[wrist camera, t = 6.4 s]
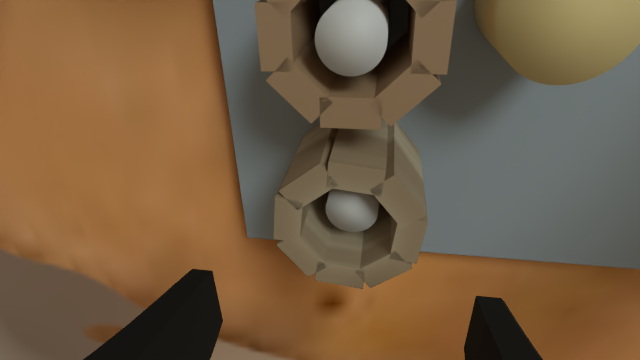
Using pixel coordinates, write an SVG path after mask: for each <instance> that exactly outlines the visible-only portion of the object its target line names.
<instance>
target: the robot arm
mask: <svg viewBox="0 0 640 360" xmlns="http://www.w3.org/2000/svg"><path fill="white" fill-rule="evenodd" d="M222 322H223V319H222V314H221V310H220V305H219V300H218V296H217V291H216V286H215V282H214V277H213V272H212V271H208V270H197V269H192V270H191V271H189V272H188V273H187V274H186V275H185V276H184V277H182V278H181V279H180V280H179V281H178V282H177V283H175V284H174V285H173V286H172V287H171V288H170V289H169V290H168V291H166V292H165V293H164V294H163V295H162V296H161V297H160V298H158V299H157V300H156V301H155V302H154V303H153V304H152V305H150V306H149V307H148V308H147V309H146V310H145V311H143V312H142V313H141V314H140V315H139V316H138V317H136V318H135V319H134V320H133V321H132V322H131V323H129V324H128V325H127V326H126V327H125V328H123V329H122V330H121V331H119V332H118V333H117V334H116V335H114V336H113V337H112V338H111V339H109V340H108V341H107V342H106V343H104V344H103V345H102V346H100V347H99V348H98V349H97V350H96V351H94V352H93V353H92V354H90V355H89V356H87V357H86V358H85V359H83V360H210V358H211V355H212V353H213V350H214V347H215V344H216V341H217V338H218V335H219V331H220V328H221V325H222ZM464 353H465V360H543V359H542V358H541V356H540V355H539V354H538V352H537V351H536V349H535V348H534V346H533V345H532V343H531V342H530V341H529V339H528V338H527V336H526V335H525V333H524V332H523V330H522V329H521V327H520V326H519V324H518V323H517V321H516V319H515V318H514V316H513V315H512V313H511V312H510V310H509V308H508V307H507V305H506V304H505V302H504V301H503V300H502V299H501V298H493V297H482V296H476V299H475V303H474V307H473V312H472V316H471V320H470V325H469V329H468V333H467V338H466V342H465V346H464Z"/></svg>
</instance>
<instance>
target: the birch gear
mask: <svg viewBox="0 0 640 360" xmlns="http://www.w3.org/2000/svg"><path fill="white" fill-rule="evenodd" d="M331 189H339V190H345V191H351V192H358V193H364V194H370V195H374V196H375V197H376V198H377V200H378V201H379V207H378V217H377V219H376V221H375V223H374V224H373V225H372V226H371V227H369V228H368V229H366V230H363V231H360V232H347V231H344V230H341V229H339V228H337V227H336V226H334V225H333V224H332V223H331V222H330V221H329V219H328V217H327V215H326V203H327V199H328V195H329V191H330V190H331ZM427 225H428V217H427V209H426V200H425V192H424V183H423V175H422V166H421V157H420V154H419V150H418V148H417V147H416V146H415V144H414V143H413V142H412V141H411V139H410V138H409V137H408V135H407V134H406V133H405V131H404V130H403V129H402V127H401V126H400V125H399V123H398V122H396V123H394V124H393V125H392V126H390V125H389V124H388V123H387V122H386V121H385V120H384V119H383V118H382V123H381V130H371V129H345V128H320V123H319V124H318V125H316V126H315V127H314V128H312V129H311V130H309V131H308V132H307V133H305V135H304V137H303V139H302V141H301V143H300V145H299V147H298V149H297V151H296V153H295V156H294V158H293V160H292V162H291V164H290V166H289V169H288V171H287V173H286V175H285V177H284V179H283V181H282V184H281V186H280V188H279V190H278V192H277V194H276V196H275V213H274V239H277V240H278V242H277V246H278V247H279V248H280V249H281V250H282V251H283V252H284V253H285V254H286V255H287V256H288V257H289V258H290V259H291V260H292V261H293V262H294V263H295V264H296V265H297V266H298V267H299V268H300V269H301V270H302V271H303V272H304V273H305V274H306V275H307V276H308V277H309V276H311V275H313V274H315V273H316V276H315V280H316V281H321V282H327V283H332V284H338V285H343V286H349V287H354V288H360V289H363V284H364V282H365V283H366V284H367V285H368V286H369V287H370V288H372V287H374V286H376V285H378V284H380V283H382V282H384V281H387V280H389V279H391V278H393V277H395V276H397V275H399V274H402V273H404V272H406V271H408V270H410V269H412V267H411V263H417V260H418V256H419V253H420V249H421V246H422V242H423V239H424V235H425V232H426V228H427Z"/></svg>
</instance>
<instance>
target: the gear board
mask: <svg viewBox="0 0 640 360" xmlns="http://www.w3.org/2000/svg"><path fill="white" fill-rule="evenodd" d="M213 6H214V12H215V19H216V26H217V33H218V40H219V47H220V53H221V60H222V67H223V74H224V81H225V88H226V94H227V101H228V108H229V115H230V122H231V128H232V135H233V142H234V149H235V156H236V163H237V169H238V176H239V183H240V190H241V197H242V204H243V210H244V217H245V224H246V231H247V238H259V239H271V240H277V239H274V213H275V196H276V194H277V192H278V190H279V188H280V186H281V184H282V181H283V179H284V177H285V175H286V173H287V171H288V169H289V166H290V164H291V162H292V160H293V158H294V156H295V153H296V151H297V149H298V147H299V145H300V143H301V141H302V139H303V137H304V135H305V133H307V132H308V131H309V130H311V129H312V128H314V127H315V126H316V125H318V124H319V123H320V128H345V129H371V130H381V123H382V118H383V119H384V120H385V121H386V122H387V123H388V124H389V125H390V126H392V125H393V124H394V123H396V122H398V123H399V125H400V126H401V127H402V129H403V130H404V131H405V133H406V134H407V135H408V137H409V138H410V139H411V141H412V142H413V143H414V144H415V146H416V147H417V148H418V150H419V154H420V157H421V166H422V175H423V183H424V192H425V200H426V209H427V217H428V225H427V228H426V232H425V235H424V239H423V242H422V246H421V249H420V252H433V253H445V254H457V255H470V256H482V257H495V258H507V259H519V260H532V261H544V262H557V263H569V264H581V265H594V266H606V267H619V268H631V269H640V0H213ZM378 207H379V201H378V200H377V198H376V197H375V196H374V195H370V194H364V193H358V192H351V191H345V190H339V189H331V190H330V191H329V195H328V199H327V203H326V215H327V217H328V219H329V221H330V222H331V223H332V224H333V225H334V226H336V227H337V228H339V229H341V230H344V231H347V232H360V231H363V230H366V229H368V228H369V227H371V226H372V225H373V224H374V223H375V221H376V219H377V217H378Z"/></svg>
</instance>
